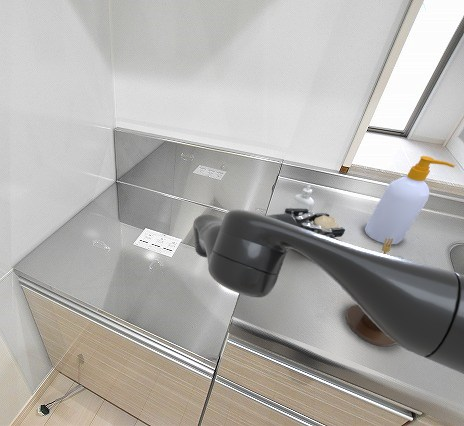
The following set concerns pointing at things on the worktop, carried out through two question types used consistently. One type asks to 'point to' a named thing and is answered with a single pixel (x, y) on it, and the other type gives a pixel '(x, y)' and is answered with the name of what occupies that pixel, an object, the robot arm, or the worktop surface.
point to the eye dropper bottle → (303, 200)
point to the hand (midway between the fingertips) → (334, 223)
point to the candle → (325, 222)
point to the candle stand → (366, 328)
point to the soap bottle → (401, 203)
